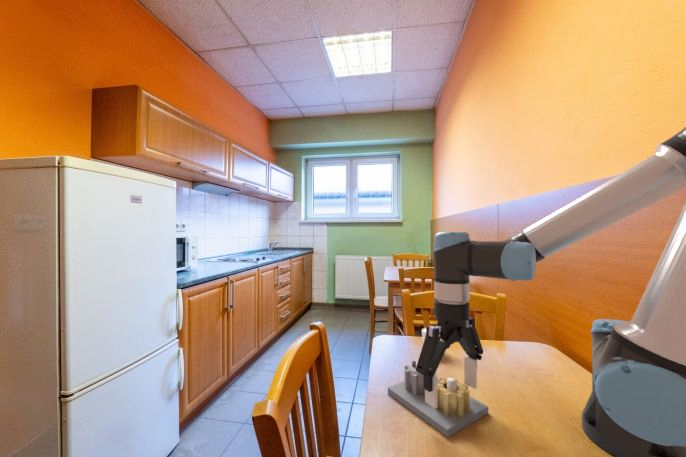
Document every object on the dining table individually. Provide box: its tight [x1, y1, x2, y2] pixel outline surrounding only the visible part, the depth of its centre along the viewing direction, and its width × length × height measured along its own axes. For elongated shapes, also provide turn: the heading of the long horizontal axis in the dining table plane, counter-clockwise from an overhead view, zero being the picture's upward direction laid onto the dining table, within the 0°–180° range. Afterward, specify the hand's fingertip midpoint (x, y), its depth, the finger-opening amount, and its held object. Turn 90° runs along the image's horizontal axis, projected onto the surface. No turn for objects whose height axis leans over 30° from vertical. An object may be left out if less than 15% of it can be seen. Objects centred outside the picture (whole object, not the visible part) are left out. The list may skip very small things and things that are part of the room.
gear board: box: [387, 360, 489, 438], centre depth 68 cm, size 18×14×8 cm
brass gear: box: [435, 377, 471, 418], centre depth 65 cm, size 8×8×4 cm
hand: (451, 394), depth 64 cm, fingers open, 13 cm apart
